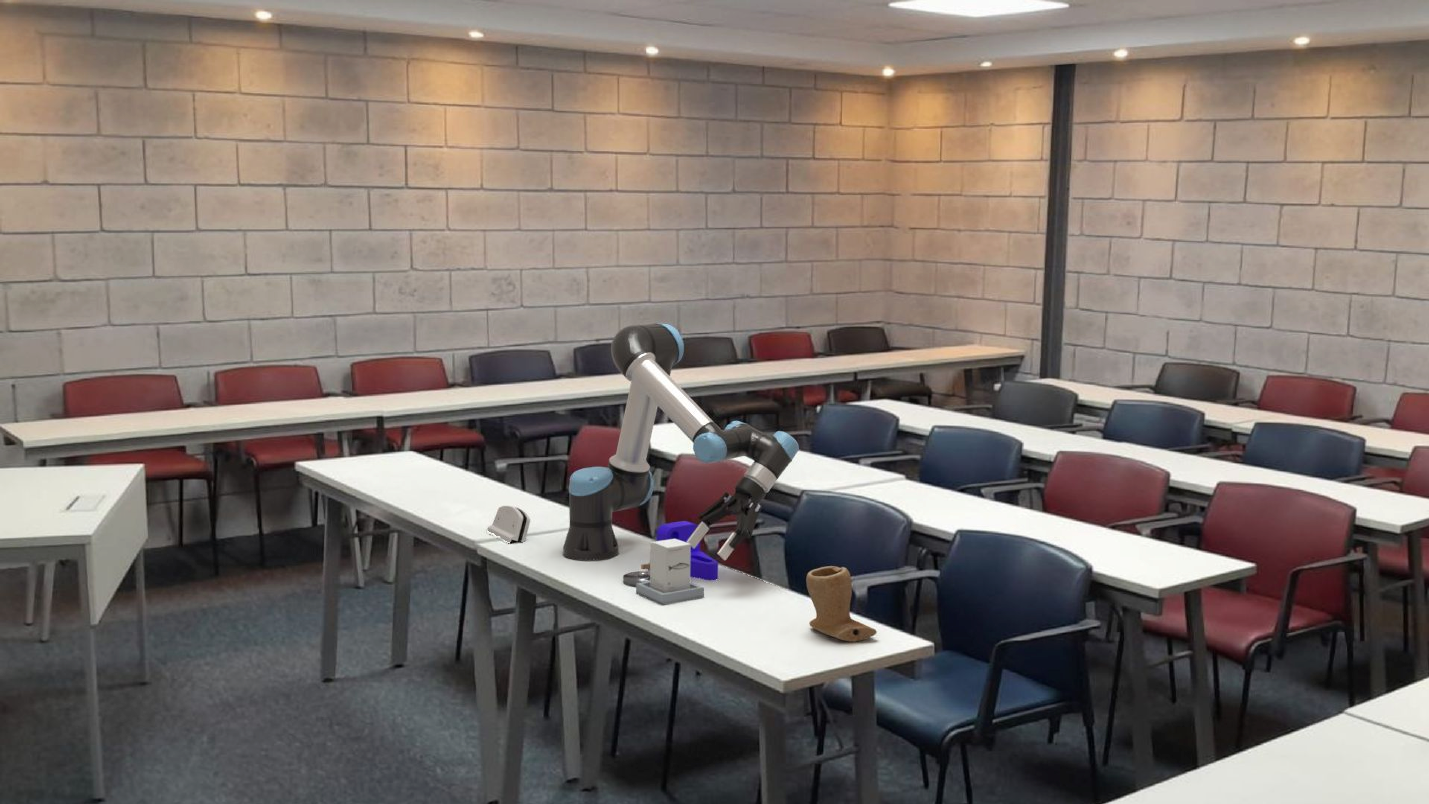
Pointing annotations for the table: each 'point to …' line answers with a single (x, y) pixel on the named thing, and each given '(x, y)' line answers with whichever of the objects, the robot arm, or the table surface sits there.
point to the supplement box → (670, 565)
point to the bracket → (699, 561)
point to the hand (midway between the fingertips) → (705, 551)
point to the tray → (670, 597)
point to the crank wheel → (637, 576)
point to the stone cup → (834, 604)
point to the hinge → (510, 524)
